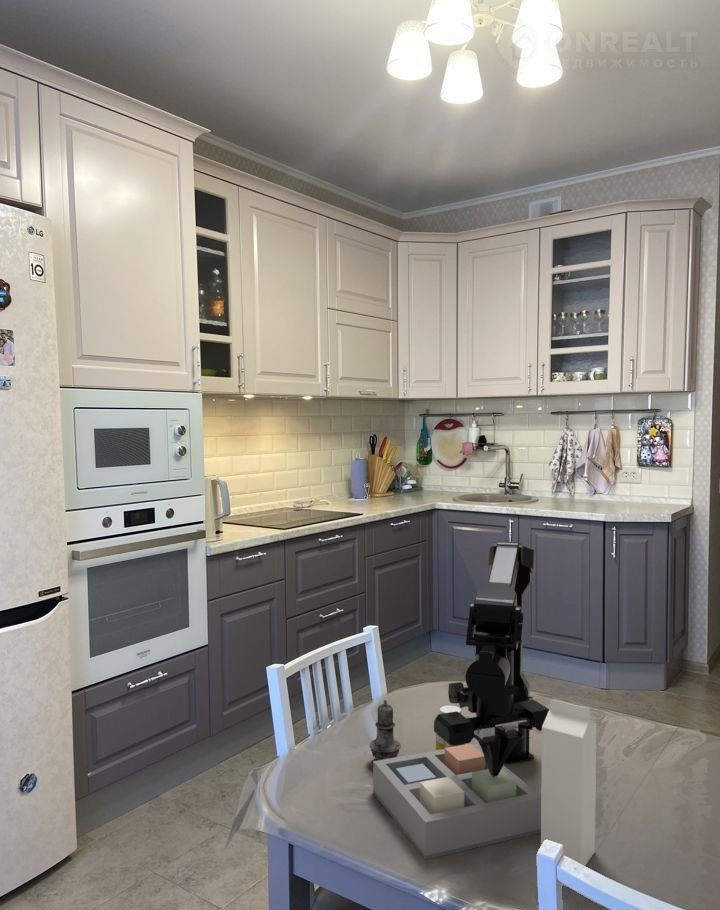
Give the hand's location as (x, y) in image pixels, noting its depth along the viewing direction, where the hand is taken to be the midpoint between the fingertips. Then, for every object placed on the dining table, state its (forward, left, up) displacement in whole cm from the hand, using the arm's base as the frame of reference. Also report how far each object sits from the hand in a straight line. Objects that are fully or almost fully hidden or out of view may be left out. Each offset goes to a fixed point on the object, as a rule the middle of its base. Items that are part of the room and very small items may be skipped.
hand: (493, 775), depth 108 cm
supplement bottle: (-3, -20, -7) cm, 22 cm away
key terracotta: (0, -9, -4) cm, 10 cm away
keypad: (+5, -4, -7) cm, 10 cm away
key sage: (0, 0, -4) cm, 4 cm away
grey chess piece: (+9, -23, -7) cm, 26 cm away
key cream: (+9, 0, -4) cm, 10 cm away
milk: (-5, +12, -7) cm, 15 cm away
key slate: (+9, -9, -6) cm, 15 cm away
